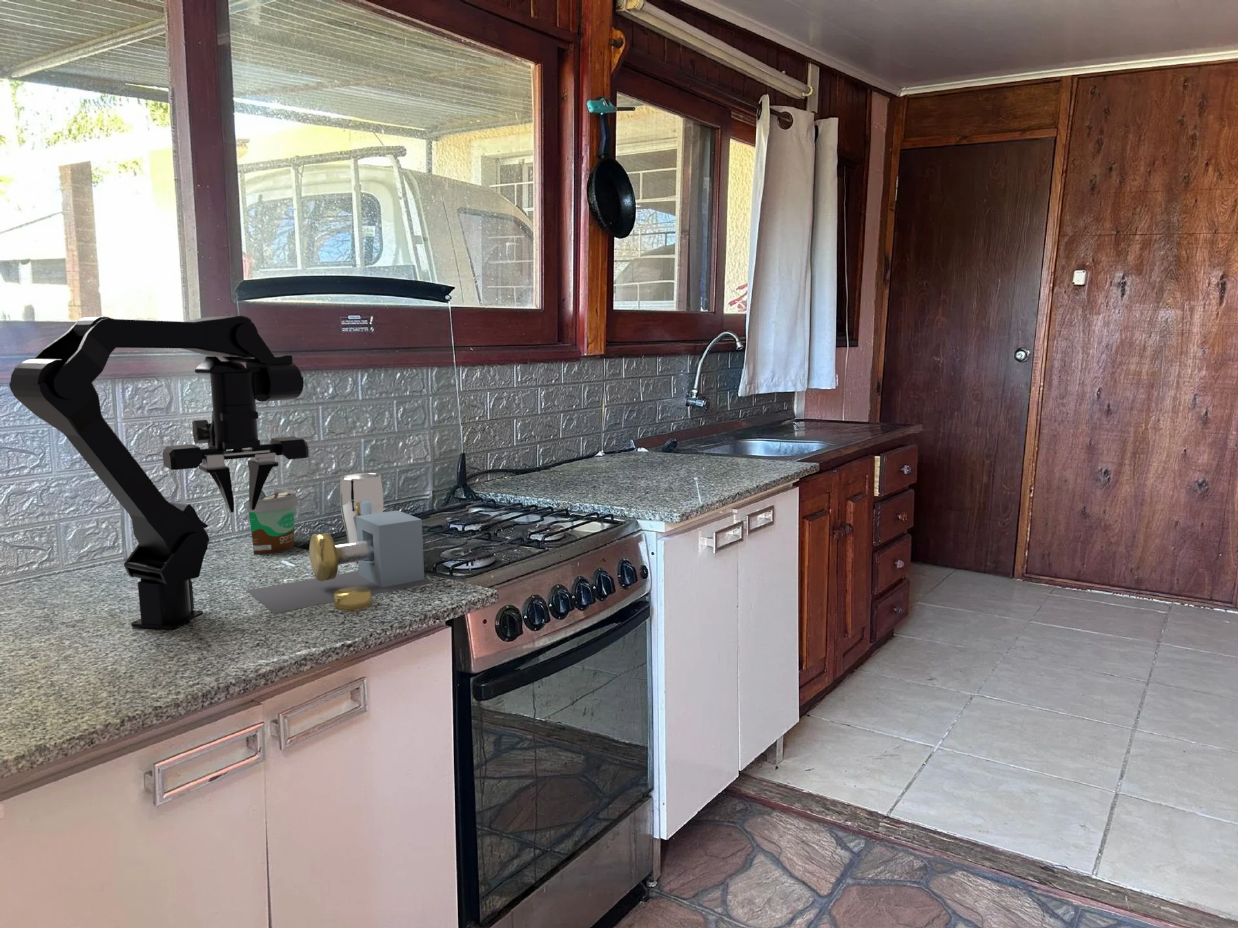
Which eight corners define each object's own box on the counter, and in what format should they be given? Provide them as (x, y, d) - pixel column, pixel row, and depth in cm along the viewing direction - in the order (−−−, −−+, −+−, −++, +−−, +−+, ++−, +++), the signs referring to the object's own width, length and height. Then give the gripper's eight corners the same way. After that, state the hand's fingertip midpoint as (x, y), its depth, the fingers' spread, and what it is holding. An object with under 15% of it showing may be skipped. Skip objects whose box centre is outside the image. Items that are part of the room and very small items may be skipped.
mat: (274, 616, 120) (274, 613, 120) (246, 592, 131) (245, 590, 131) (433, 584, 134) (433, 582, 134) (396, 566, 145) (396, 563, 145)
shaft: (327, 585, 128) (324, 539, 127) (311, 575, 133) (308, 531, 132) (421, 568, 137) (419, 525, 136) (402, 559, 142) (400, 517, 141)
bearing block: (381, 587, 132) (378, 525, 130) (359, 574, 139) (355, 516, 137) (424, 579, 136) (421, 519, 135) (400, 567, 143) (397, 510, 142)
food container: (285, 556, 152) (281, 500, 151) (250, 556, 152) (246, 500, 151) (311, 540, 164) (308, 488, 163) (278, 540, 164) (275, 488, 163)
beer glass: (392, 557, 151) (388, 472, 149) (377, 568, 144) (373, 479, 142) (353, 557, 152) (349, 472, 149) (336, 567, 145) (331, 479, 142)
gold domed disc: (361, 615, 121) (360, 597, 120) (328, 613, 122) (327, 596, 121) (377, 604, 126) (377, 587, 125) (346, 602, 126) (345, 585, 126)
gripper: (283, 398, 137) (289, 495, 139) (150, 404, 125) (160, 510, 128) (306, 402, 128) (313, 506, 130) (167, 409, 117) (176, 523, 119)
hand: (242, 510), depth 127 cm, fingers open, 3 cm apart
